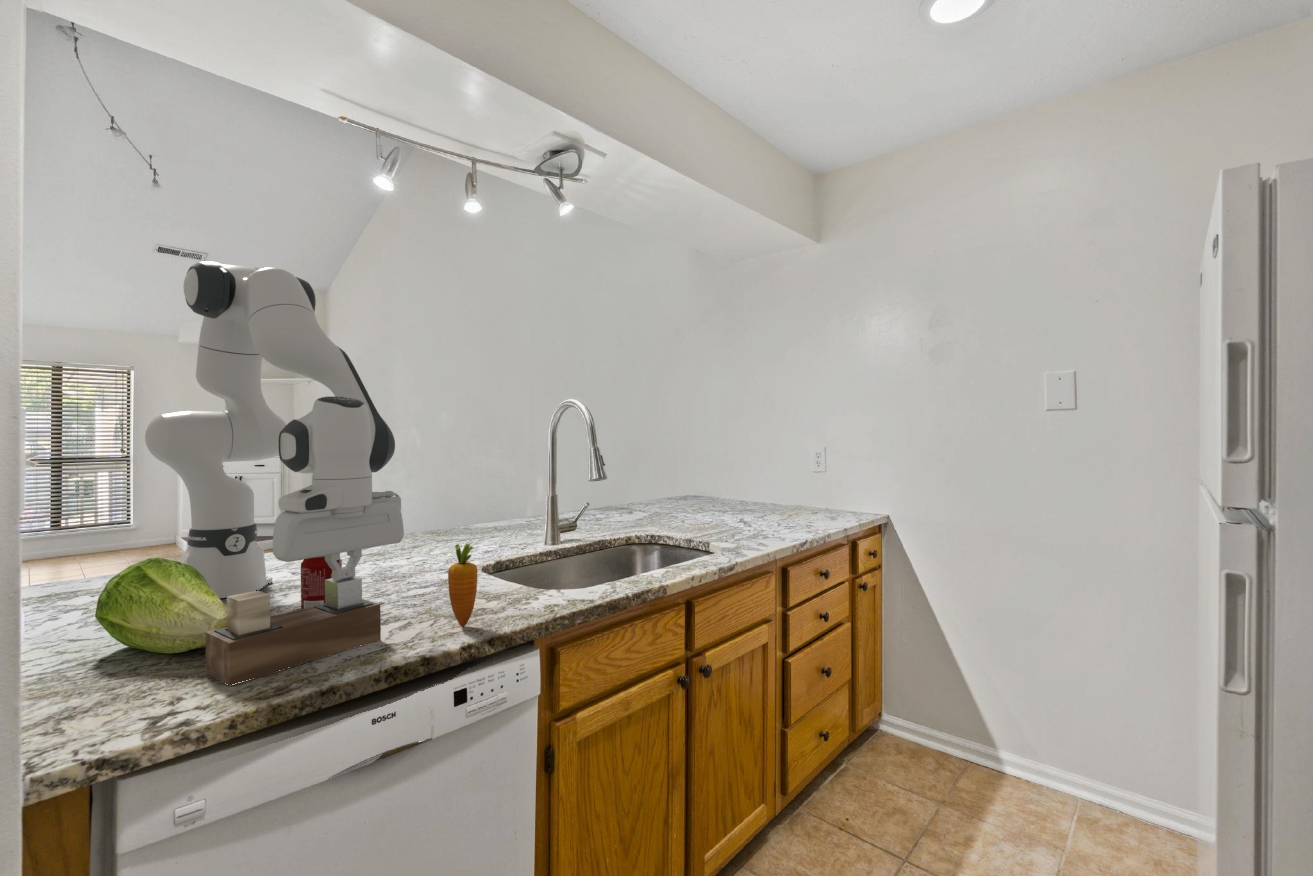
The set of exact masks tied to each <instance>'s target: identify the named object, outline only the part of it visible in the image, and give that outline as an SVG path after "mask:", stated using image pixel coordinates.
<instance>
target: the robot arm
mask: <svg viewBox="0 0 1313 876" xmlns="http://www.w3.org/2000/svg"><path fill="white" fill-rule="evenodd" d="M183 294H184V297H185V302H186V305H187V306H188V308H189V309H191V311H192V312H193V313H195V314H198V315H200V316H202V317H203V319H202V323H201V327H200V332H199V337H198V338H199V339H198V349H197V358H196V367H195V369H196V370H195V378H196V381H197V383H198V384H199V386H200V387H201V388H202V389H203V390H204V391H206V392H208V393H210V394H212V395H214V396H216V397H218V398H221V399H223V400H224V402H225V405H224V406H225V407H224V410H221V411H219V410H217V411H216V410H214V411H213V410H182V411H175V412H173V411H172V412H167V413H161V414H158V415H156V416H154V418H153V419H152V420H151V421H150V423H148V425H147V427H146V430H145V434H144V438H145V439H144V440H145V445H146V447H147V450H148V451H149V453H150V454H151V455H152V456H153V457H154V458H155V459H157V460H158V461H160V462H162V463H164V464H165V465H167V466H168V467H170V468H171V469H173V470H174V471H175V472H176V474H177V475H178V476H179V477H180V479H181V480H182V481H183V483H184V485H185V487H186V490H187V492H188V496H189V503H190V516H191V518H190V519H191V520H190V521H191V527H190V528H189V530H188V534H187V542H186V545H188V547H187V549H185V550H184V552H183V554H182V555H181V556H180V557H179V559H178V560H176V561H177V562H180V563H183V564H186V565H189V566H192V567H194V568H195V569H196V570H197V571H198V572H199V573H200V574H201V575H202V576H203V577H204V579H205V581H206V583H207V584H208V585H209V587H210V588H211V589H212V590H213V591H214V592H215V593H216V594H217V595H218V597H219V598H220V599H224V598H226V599H227V596H232V595H237V594H242V593H247V592H252V591H256V590H258V591H260V590H261V589H263V588H264V587H266V585H269V584H271V582H272V581H273V577H270V576H267V572H266V562H265V552H264V551H265V550H264V547H263V546H261V545H259V544H258V543H257V540H258V528H257V524H256V523H255V493H254V491H253V489H252V487H251V486H250V485H249V484H248V483H247V482H244V481H242V480H240V479H238V478H235V477H232V476H229V475H228V474H227V473H226V472H225V469H224V466H223V464H224V463H226V462H227V463H228V462H229V463H230V462H251V461H252V462H253V461H254V462H255V461H261V460H267V459H270V458H275V457H279V460H280V462H281V463H283V465H284V466H286V467H287V468H288V469H289V470H291V471H292V472H293V473H300V474H312V476H311V485H308V486H305V487H303V488H301V489H299V490H295V491H293V492H291V493H288V494H285V495H282V496H281V497H279V499H278V509H279V510H280V511H282V512H280V514H279V515H278V516H277V517H276V519H275V522H274V526H273V533H272V554H273V556H274V557H275V558H276V559H277V560H278V561H280V562H287V563H291V562H295V561H296V562H297V561H303V560H304V559H309V558H314V557H320V556H325V561H326V562H327V564H328V565H329V567H330V568H331V569H332V578H333V580H335V581H340V580H344V579H349V578H354V577H356V567H357V565H358V564H359V562H360V560H361V558H362V557H363V550H366V549H371V548H377V547H383V546H389V545H394V544H398V543H401V542H402V540H403V538H404V536H405V530H404V520H403V515H402V499H401V497H400V495H399V494H397V493H395V492H394V491H393V490H385V491H374V492H373V473H378V472H379V471H380V470H382V469H383V468H384V467H385V466H386V465H387V464H389V462H390V460H391V459H392V457H393V456H394V454H395V450H396V439H395V436H394V435H393V431H392V429H391V428H390V427H389V425H388V423H387V422H386V421H385V420H384V419H383V418H382V416H381V415H380V413H379V412H378V410H377V408H376V406H375V404H374V402H373V401H372V398H371V397H370V394H369V393H368V390H367V388H366V387H365V385H364V383H363V381H362V379H361V377H360V376H359V373H358V371H357V369H356V368H355V365H354V364H353V362H352V360H351V359H350V357H349V356H348V354H347V353H346V351H344V350H343V349H342V348H341V347H339V346H338V345H336V344H335V343H334V342H333V341H332V340H331V338H329V336H328V335H327V334H326V333H325V331H323V329H322V327H321V326H320V324H319V322H318V320H317V316H316V314H315V310H316V303H317V301H316V294H315V291H314V289H313V288H312V285H311V284H310V283H309V282H308V281H306V280H304V279H303V278H301V277H297V276H295V275H294V274H292V273H291V272H290V271H288V270H286V269H282V268H279V267H264V268H260V267H249V266H243V265H242V266H241V265H234V264H223V263H220V262H218V261H217V262H216V261H198V262H195V263H194V264H192V265H191V266H190V267H189V269H188V270H187V272H186V274H185V277H184V280H183ZM263 359H264V360H265V361H266V362H268V363H269V364H271V365H272V366H274V367H276V368H278V369H281V370H283V371H287V372H290V373H294V374H297V375H301V376H304V377H305V378H308V379H312V380H314V381H316V382H318V383H320V384H322V385H324V387H326V388H328V390H330V392H332V394H333V395H334V396H322V397H321V396H320V397H319V398H317V399H315V400H314V402H313V405H312V409H311V411H310V412H308V413H307V414H306V415H304V416H301V417H300V418H296V419H292V420H291V421H290V422H288V423H286V422H285V420H284V419H283V418H282V417H281V416H280V415H278V414H277V413H276V412H274V410H272V409H271V407H269V405H268V403H267V402H266V399H265V398H264V394H263V391H262V384H261V383H262V382H261V381H262V380H261V379H262V364H263V362H262V361H263ZM342 553H346V556H348V557H349V558H348V561H347V563H346V564H345V566H342V567H340V566H339V564H338V562H337V561H336V560H340V559H341V554H342ZM273 582H274V581H273ZM273 582H272V583H273ZM268 583H269V584H268ZM263 586H264V587H263Z"/></svg>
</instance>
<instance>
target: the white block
mask: <svg viewBox="0 0 1313 876" xmlns="http://www.w3.org/2000/svg"><path fill="white" fill-rule="evenodd" d="M362 599H363V578H362V577H360V576H355V577H354V578H349V579H344V580H340V581H335V580H333V578H331V579H327V580H325V607H327V608H330V609H333V610H337V611H338V610H342V609H346V608H350V607H354V606H358V605H362Z"/></svg>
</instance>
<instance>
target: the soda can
mask: <svg viewBox="0 0 1313 876" xmlns="http://www.w3.org/2000/svg"><path fill="white" fill-rule="evenodd" d="M301 561H302V562H301V563H300V609H304V608H309V607H313V606H317V605H321V604H325V580H327V579H331V578H332V569H331V568H330V567H329V565H328V564H327V562H326V561H325V556H320V557H314V558H309V559H303V560H301ZM336 561H337V562H338V564H339V566H340V567H343V560H342V559H341V558H340V560H336Z"/></svg>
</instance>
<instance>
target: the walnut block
mask: <svg viewBox="0 0 1313 876" xmlns="http://www.w3.org/2000/svg"><path fill="white" fill-rule="evenodd" d="M381 621H382V620H381V604H380V603H377V602H375V601H371V600H368V599H364V598H362V605H358V606H354V607H350V608H346V609H342V610H338V611H337V610H333V609H330V608H327V607H325V604H321V605H317V606H313V607H309V608H304V609H301V608H300V609H297V610H292V611H288V612H283V613H280V614H276V615H272V616H271V615H270V628H267V629H263V630H259V631H255V632H251V633H247V634H243V635H239V636H237V635H235V634H233V633H230V632H228V631H227V627H225V628H221V629H216V630H212V631H208V632H205V636H206V647H205V674H206V675H209V676H210V677H211V678H213V679H215V680H217V679H218V680H217V681H219V682H221V681H222V682H223V684H224V683H226V684H228V685H232V684H235V683H238V682H242V681H246V680H249V679H253V678H256V679H258V677H259V678H261V677H260V676H263V677H265V675H266V676H269V675H272V674H275V673H274V672H276V673H278V672H277V671H279V670H282V671H284V670H283V669H285V670H288V669H289V668H288V667H292V668H294V667H293V666H295V665H298V666H301V665H303V664H302V663H305V664H307V662H308V663H310V662H309V661H311V662H313V660H314V661H317V660H320V659H319V658H321V659H323V658H327V657H329V655H330V656H332V655H331V654H333V655H336V654H335V653H337V654H339V652H340V653H342V652H341V651H343V652H346V651H348V650H347V649H350V650H351V649H352V648H353V649H355V648H354V647H356V648H359V647H361V646H360V645H362V646H365V644H366V645H368V643H369V644H372V643H376V642H378V641H377V640H379V641H381V639H382V638H381V637H382V636H381V635H382V634H381V629H382V628H381V627H382V626H381ZM371 642H372V643H371ZM358 646H359V647H358ZM345 650H346V651H345ZM326 656H327V657H326ZM300 664H301V665H300ZM295 667H296V666H295ZM287 668H288V669H287ZM279 672H280V671H279ZM268 674H269V675H268ZM253 680H254V679H253ZM222 682H221V683H222ZM226 684H225V685H226ZM228 685H227V686H228Z"/></svg>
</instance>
